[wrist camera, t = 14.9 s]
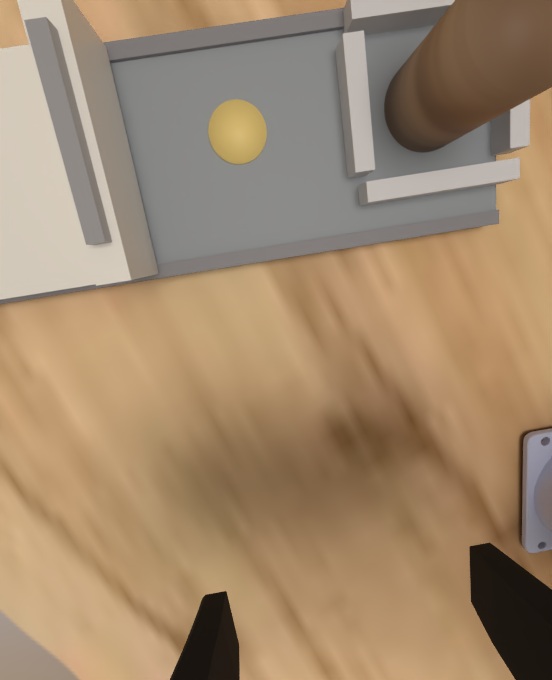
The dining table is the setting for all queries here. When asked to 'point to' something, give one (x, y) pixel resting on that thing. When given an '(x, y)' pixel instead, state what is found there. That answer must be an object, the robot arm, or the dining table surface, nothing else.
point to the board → (293, 140)
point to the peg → (470, 71)
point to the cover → (65, 162)
